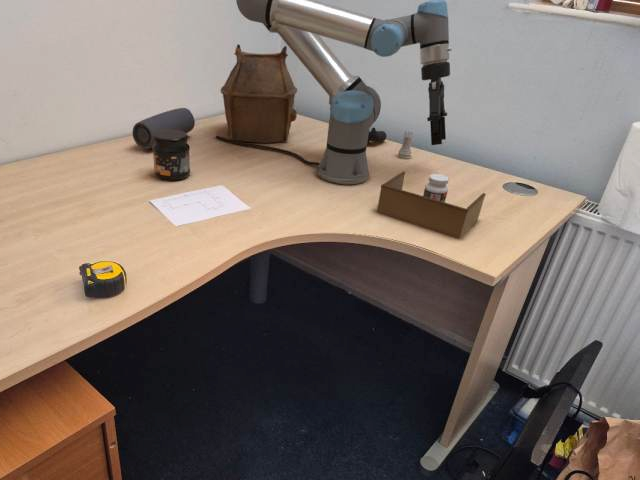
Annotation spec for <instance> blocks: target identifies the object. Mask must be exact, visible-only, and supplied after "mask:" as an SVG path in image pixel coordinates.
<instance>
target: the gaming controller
mask: <svg viewBox="0 0 640 480" xmlns="http://www.w3.org/2000/svg"><path fill="white" fill-rule="evenodd" d="M386 139H387V133H386V132H385V130H384V131H383V130H376V127H372V128H371V130H369V135H368V141H367V144H370V142H371V143H382V142H385V141H386Z"/></svg>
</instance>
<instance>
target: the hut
mask: <svg viewBox="0 0 640 480" xmlns="http://www.w3.org/2000/svg"><path fill="white" fill-rule="evenodd" d="M287 49H288V47H287V45H284V46H283V47H282V49H281V51H280V52H275V53H256V52H255V53H254V52H246V51H242V49H241V45H240V44H239V43H238V44H236V47H235V51H234V53H233V54H234V55H235V57H236V63H235V65H234V66H233V68H232V69H231V71H230V73H229V74H228V77H227V79H226V80H225V83H224V84H223V86H222V87H221V88H220V94H222V98H223V107H224V114H225V115H224V116H225V120H226V125H227V131H228V135H229V137H230V140H234V141H239V142H247V143H260V144H261V143H263V144H265V143H267V144H268V143H276V142H278V143H280V142H281V143H287V142H288V138H289V134H290V130H291V127H292V122H295V121H296V119H297V117H298V116H297V115H298V112H297V109H295V108H294V107H295V106H294V105H295V97H296V94H297V93H298V88H297V87H296V86H295V84H294V81H293V78H292V77H291V74H290V72H289V69H288V66H287V64H286V59H287V57H289V54H288V53H287V51H288V50H287Z"/></svg>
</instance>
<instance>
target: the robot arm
mask: <svg viewBox="0 0 640 480" xmlns="http://www.w3.org/2000/svg"><path fill="white" fill-rule="evenodd" d="M235 2H236V6H237V9H238V11H239V12H240V14H241V15H242V16H243V17H244V18H245V19H247V20H249V21H251V22H256V23H260V24H262V25H263V26H264V28H266V29H267V31H268V32H269V33H270V34H271V33H272V34H278V35H279V37H280V38H281V39H282V40H283V42H284V43H285V44H286V46H288V48H289V49H290V50H291V52H292V53H293V54H294V55H295V56H296V57H297V58H298V60H299V61H300V62H301V63H302V65H303V66H304V67H305V68H306V70H307V71H308V73H310V74H311V75H312V77H313V78H314V79H315V81H316V82H317V83H318V84H319V86H321V88H322V89H323V91H324V92H326V94H327V95H328V97H329V98H328V104H329V119H328V129H327V139H326V147H325V150H324V153H323V155H322V157H321V159H320V161H319V162H317V161H311V160H307V159H306V158H304V157H303V156H301V155H300V154H297V153H295V152H293V151H291V150H286V149H283V148H279V147H274V146H268V145H262V144H256V143H252V142H246V141H239V140H231V138H227V137H224V136H222V135H218V134H216V135H215V139H218V140H221V141H224V142H227V143H230V144H235V145H240V146H245V147H252V148H257V149H264V150H268V151H269V150H270V151H273V152H274V151H275V152H279V153H283V154H287V155H289V156H293V157H295V158H297V159H298V160H299V161H301V162H303V164H306V165H309V166H318V167H317V173H316V174H317V176H318V177H319V178H320V179H321V180H324V181H325V182H329V183H330V184H331V183H332V184H336V185H347V186H348V185H349V186H351V185H353V186H354V185H360V184H362V183H365V182H366V181H368V179H369V175H370V172H369V171H370V169H369V164H368V157H367V148H368V143H367V141H368V135H369V132H370V128H371V127H372V125H373V124H374V123H376V121H377V119H379V116H380V113H381V109H382V101H381V97H380V95H379V93H378V92H377V90H375V88H374V87H371V86H369V85H367V84H366V82H364V80H362V79H361V77H360V76H359V75H352V74H351V73H350V72H349V70H347V68H346V67H345V66H344V64H343V63H342V61H341V60H340V59H339V58H338V57H337V56H336V54H335V53H334V52H333V51H332V50H331V48H330V47H329V46H328V45H327V44H326V42H325V41H324V39H323V38H322V37H324V38H326V39H327V38H328V39H331V40H335V41H338V42H341V43H345V44H349V45H352V46H355V47H358V48H362V49H365V50H369V51H371V52H374V54H376V55H377V56H378V57H380V58H381V57H383V58H386V57H391V56H393V55H395V54H396V53H398V52H399V50H401V48H402V47H407V46H411V45H417V44H419V59H420V61H419V62H420V65H422V66H421V68H420V73H421V74H420V75H421V80H422V81H430V82H428V88H427V91H428V99H429V101H428V103H429V104H428V105H429V108H428V109H429V111H428V112H429V115H428V117H426V118H427V119H426V120H427V122H429V123H430V143H431V144H430V145H431V146H438V145H442V144H443V141H444V140H446V139H447V136H446V135H447V134H446V117H447V116H448V112H446V110H445V84H444V82H443V81H442V78H446V77H450V76H451V64H450V62H449V59H450V52H451V51H452V47H451V46H450V41H449V40H450V35H449V32H450V31H449V28H450V27H449V12H448V2H447V1H446V0H428V1H424V2H422V3H420V4H419V5H418V6H417V10H416V12H415V13H412V14H409V15H404V16H398V17H394V18H390V19H380V18H377V17H373V16H370V15H366V14H364V13H359V12H355V11H352V10H349V9H346V8H342V7H339V6H338V7H337V6H334V5H332V4H331V5H330V4H327V3H324V2H321V1H317V0H235ZM449 46H450V47H449Z"/></svg>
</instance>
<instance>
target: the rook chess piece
mask: <svg viewBox="0 0 640 480" xmlns="http://www.w3.org/2000/svg"><path fill="white" fill-rule="evenodd" d="M413 134H414V132H411V131H405V132H404V133H403V135H402V136H403V139H402V144H401V147H400V149H399V150H398V153H397V156H398V157H399V158H401V159H406V160H407V159H410V158H411V157H412V149H411V143H412V139H413V137H414V135H413Z"/></svg>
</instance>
